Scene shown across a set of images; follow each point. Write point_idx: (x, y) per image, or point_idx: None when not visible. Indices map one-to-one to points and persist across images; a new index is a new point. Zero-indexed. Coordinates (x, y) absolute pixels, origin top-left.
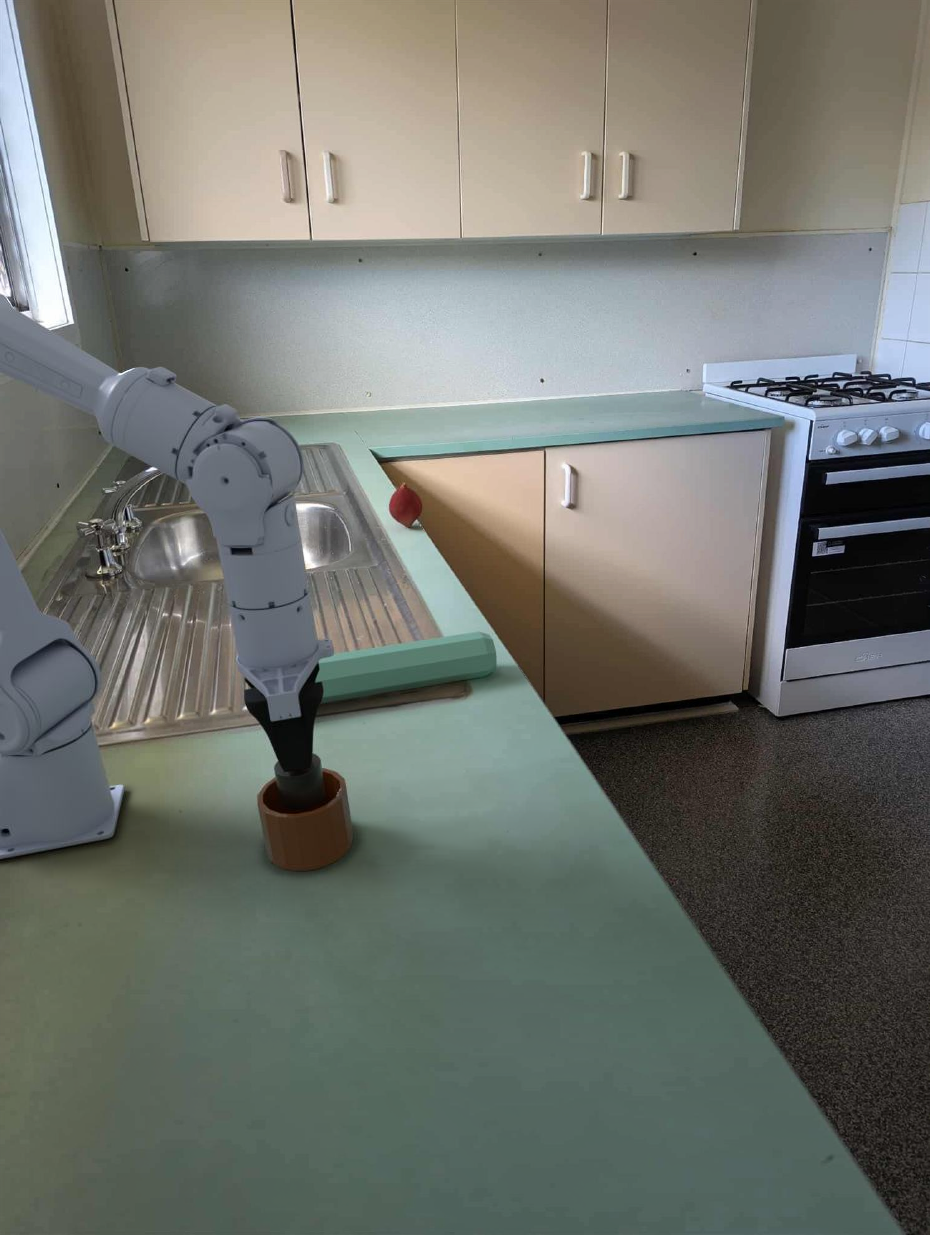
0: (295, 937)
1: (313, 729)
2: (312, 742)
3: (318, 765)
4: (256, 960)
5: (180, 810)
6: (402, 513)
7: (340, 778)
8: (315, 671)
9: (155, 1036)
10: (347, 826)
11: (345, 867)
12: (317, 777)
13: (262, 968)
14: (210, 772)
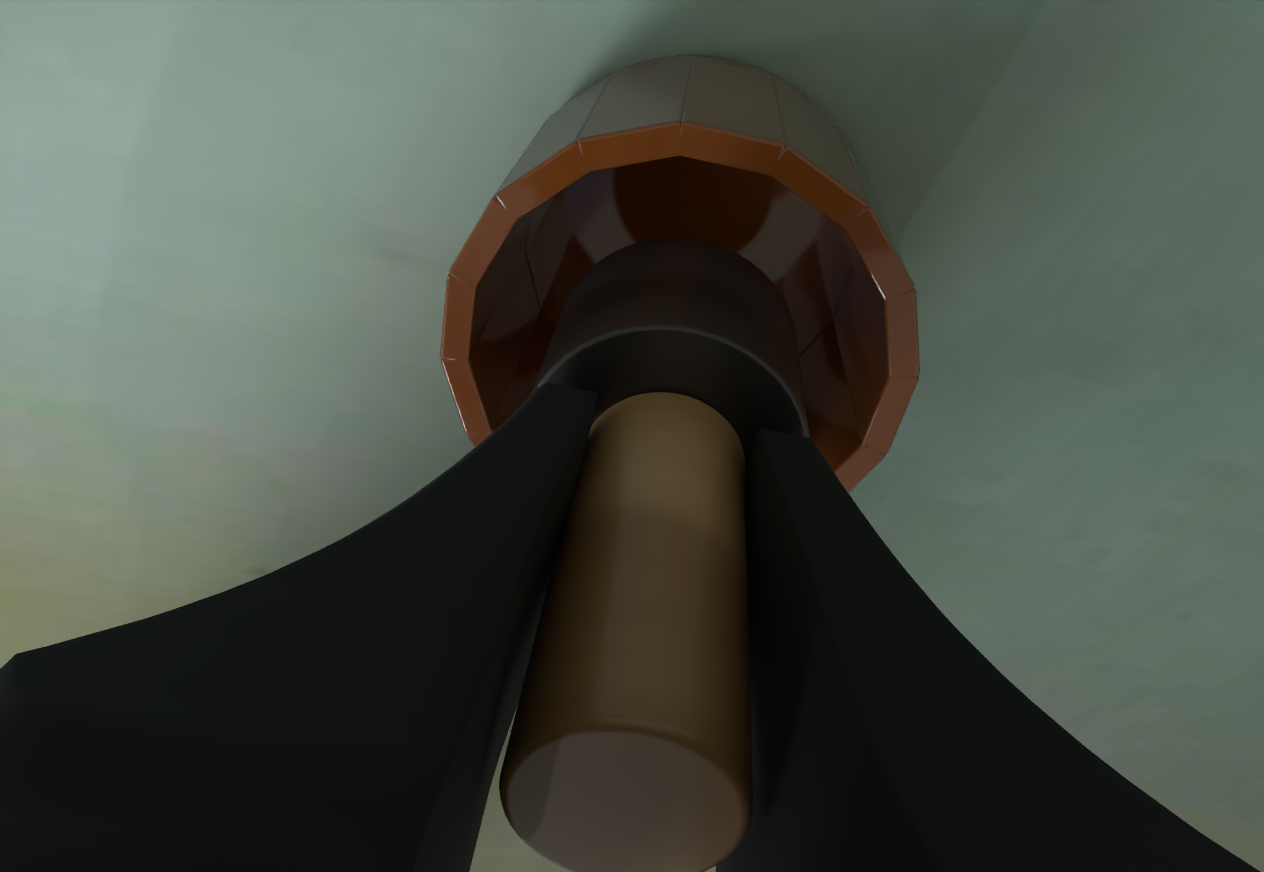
0: (1165, 434)
1: (945, 619)
2: (877, 536)
3: (760, 362)
4: (1166, 548)
5: (254, 571)
6: None
7: (669, 144)
8: (435, 819)
9: (1220, 766)
10: (830, 132)
11: (929, 166)
12: (785, 354)
13: (1213, 543)
14: (15, 448)
